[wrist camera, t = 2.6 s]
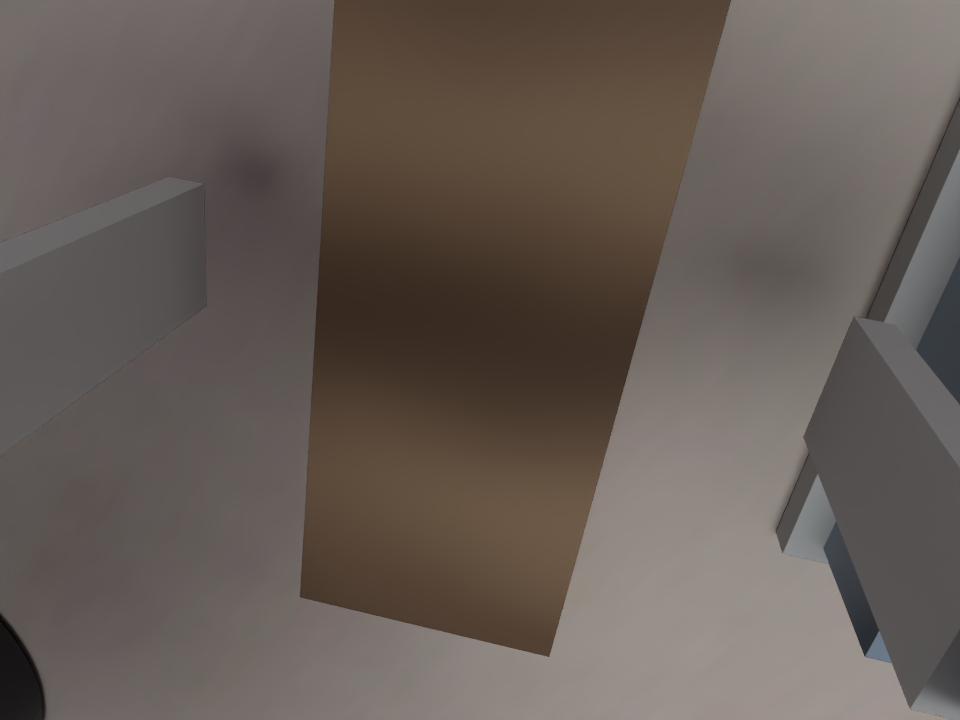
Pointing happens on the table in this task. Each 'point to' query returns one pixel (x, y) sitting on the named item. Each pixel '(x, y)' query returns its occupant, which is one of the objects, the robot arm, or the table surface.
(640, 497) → the table surface
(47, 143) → the table surface
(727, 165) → the table surface
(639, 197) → the brown wooden bar
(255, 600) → the table surface
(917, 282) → the peg frame
